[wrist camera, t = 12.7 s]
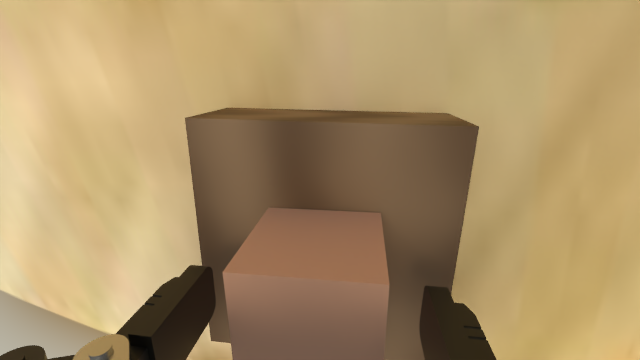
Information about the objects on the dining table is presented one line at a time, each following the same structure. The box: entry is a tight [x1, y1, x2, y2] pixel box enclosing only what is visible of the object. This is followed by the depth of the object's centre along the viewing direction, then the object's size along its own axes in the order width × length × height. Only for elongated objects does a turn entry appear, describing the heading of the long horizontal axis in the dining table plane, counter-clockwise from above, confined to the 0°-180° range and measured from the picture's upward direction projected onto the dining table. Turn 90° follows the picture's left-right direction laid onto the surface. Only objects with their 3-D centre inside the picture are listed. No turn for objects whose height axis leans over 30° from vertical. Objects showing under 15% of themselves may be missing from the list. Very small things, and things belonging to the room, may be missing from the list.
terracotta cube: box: [223, 208, 389, 360], centre depth 13 cm, size 5×5×5 cm
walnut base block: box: [185, 108, 479, 360], centre depth 17 cm, size 12×12×5 cm
